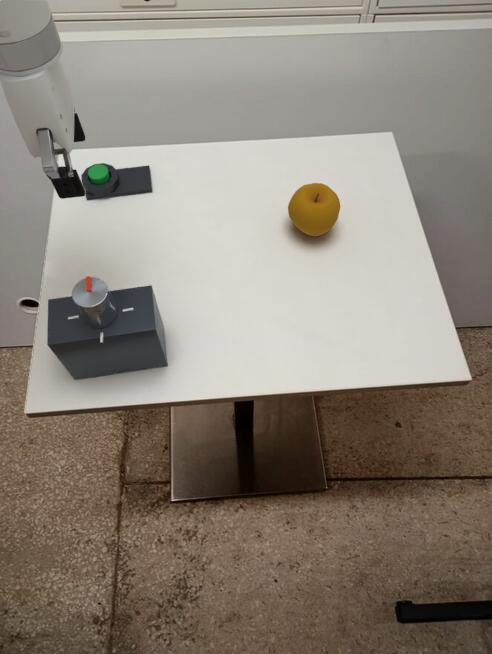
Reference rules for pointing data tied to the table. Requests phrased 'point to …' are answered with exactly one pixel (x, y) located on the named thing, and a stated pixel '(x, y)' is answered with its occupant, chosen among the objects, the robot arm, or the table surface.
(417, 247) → the table surface
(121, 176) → the button block
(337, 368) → the table surface
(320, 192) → the apple
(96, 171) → the button
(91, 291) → the program dial
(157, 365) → the dial panel
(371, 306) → the table surface
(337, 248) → the table surface
